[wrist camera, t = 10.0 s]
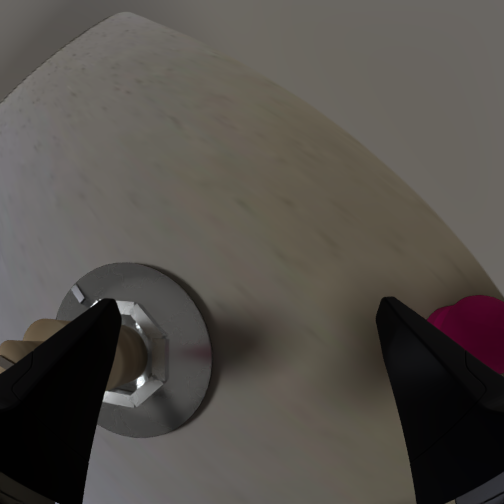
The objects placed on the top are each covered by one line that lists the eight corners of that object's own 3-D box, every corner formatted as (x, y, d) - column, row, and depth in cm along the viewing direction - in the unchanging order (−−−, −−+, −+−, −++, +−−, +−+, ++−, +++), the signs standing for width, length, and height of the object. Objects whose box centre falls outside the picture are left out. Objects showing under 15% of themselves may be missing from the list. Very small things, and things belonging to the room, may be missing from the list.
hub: (252, 361, 21) (252, 364, 20) (131, 462, 19) (123, 470, 17) (133, 229, 24) (124, 222, 22) (36, 336, 22) (23, 335, 20)
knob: (151, 331, 21) (47, 329, 9) (144, 388, 20) (45, 435, 8) (100, 319, 21) (-14, 302, 9) (94, 373, 20) (-17, 393, 8)
